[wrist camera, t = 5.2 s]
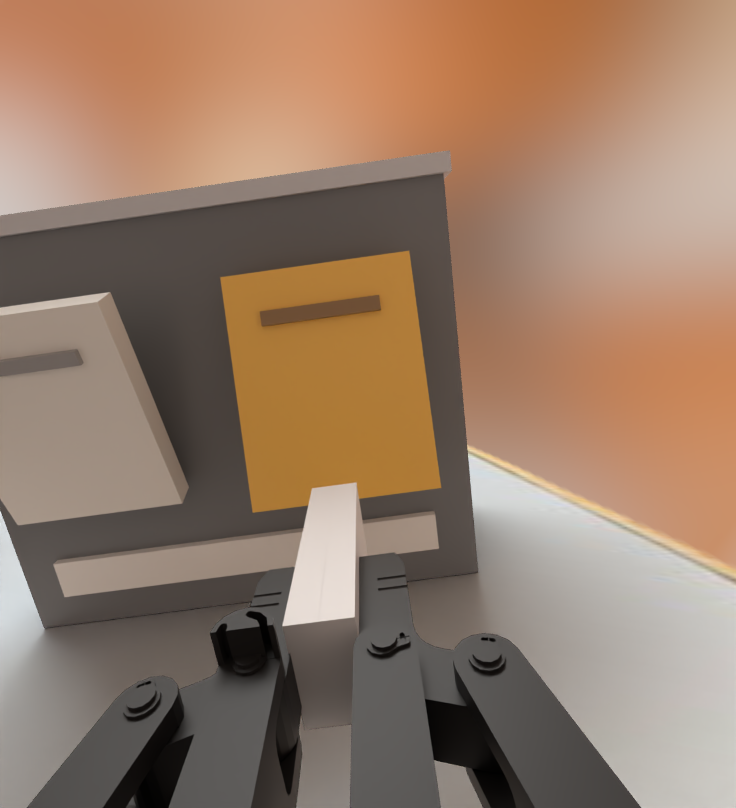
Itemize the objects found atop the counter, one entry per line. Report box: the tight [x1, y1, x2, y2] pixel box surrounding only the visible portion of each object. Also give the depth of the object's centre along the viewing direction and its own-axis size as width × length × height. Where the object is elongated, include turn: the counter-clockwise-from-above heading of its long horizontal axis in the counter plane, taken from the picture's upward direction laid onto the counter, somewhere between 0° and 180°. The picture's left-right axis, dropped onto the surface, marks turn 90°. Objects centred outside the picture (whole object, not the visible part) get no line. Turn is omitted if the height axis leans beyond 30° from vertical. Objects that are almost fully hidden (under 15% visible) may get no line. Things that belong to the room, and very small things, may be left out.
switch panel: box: [0, 151, 478, 628], centre depth 28 cm, size 9×25×21 cm, turn 91°
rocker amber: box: [220, 251, 441, 513], centre depth 21 cm, size 2×8×10 cm, turn 91°
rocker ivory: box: [0, 292, 189, 525], centre depth 21 cm, size 1×8×10 cm, turn 91°
